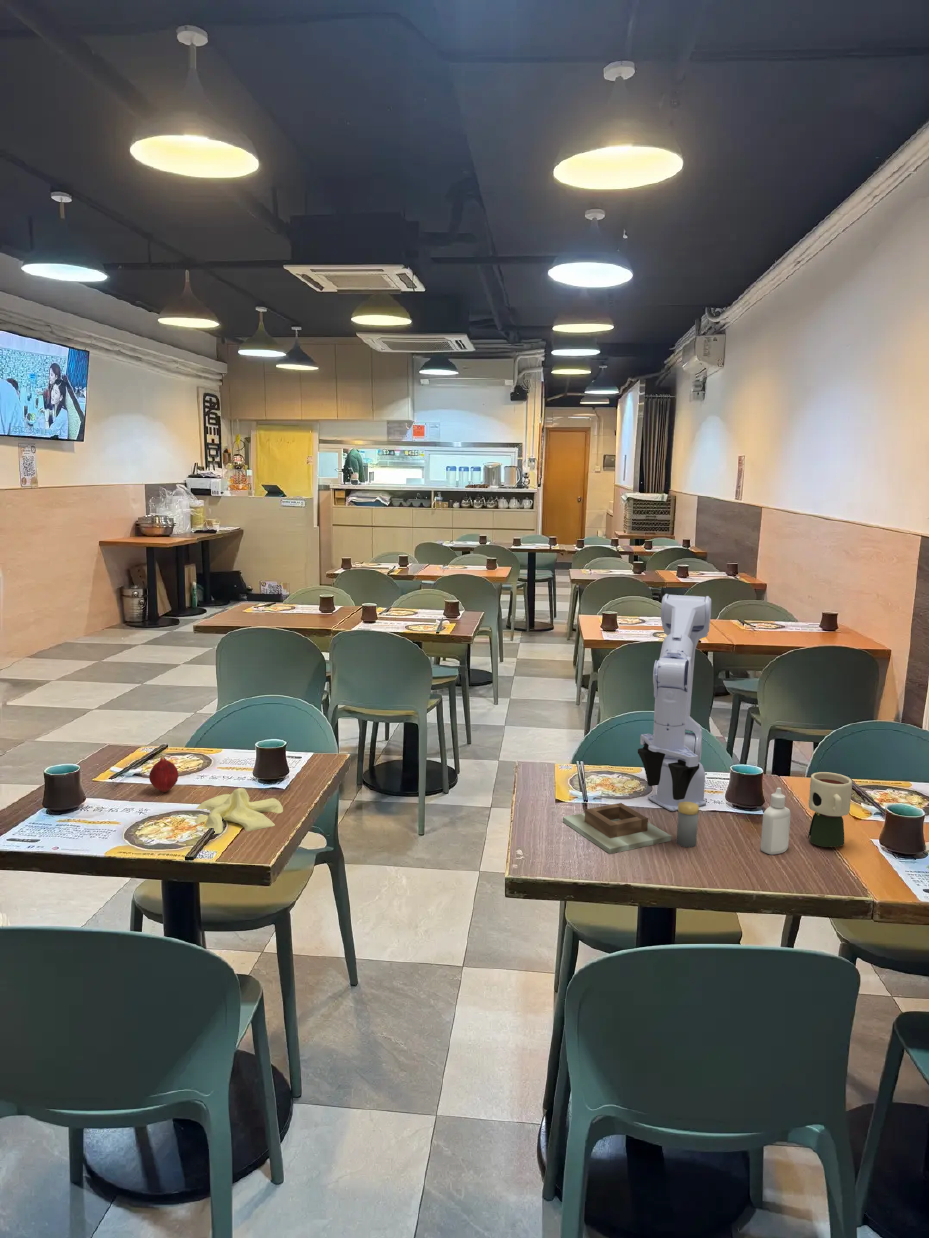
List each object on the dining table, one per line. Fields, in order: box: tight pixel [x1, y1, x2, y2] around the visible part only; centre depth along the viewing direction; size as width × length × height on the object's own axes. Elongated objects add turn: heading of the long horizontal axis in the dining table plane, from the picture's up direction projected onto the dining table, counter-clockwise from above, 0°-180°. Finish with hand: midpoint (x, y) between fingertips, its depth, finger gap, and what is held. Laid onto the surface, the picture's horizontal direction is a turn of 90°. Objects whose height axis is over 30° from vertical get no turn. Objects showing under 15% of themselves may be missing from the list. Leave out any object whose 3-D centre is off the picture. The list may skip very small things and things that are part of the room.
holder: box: [562, 802, 672, 855], centre depth 162 cm, size 14×16×4 cm
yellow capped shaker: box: [676, 802, 700, 848], centre depth 157 cm, size 4×4×8 cm
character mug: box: [807, 771, 853, 848], centre depth 157 cm, size 11×7×13 cm, turn 172°
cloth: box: [194, 787, 284, 835], centre depth 166 cm, size 22×19×6 cm
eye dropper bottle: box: [760, 787, 791, 855], centre depth 154 cm, size 4×6×12 cm
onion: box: [148, 755, 179, 793], centre depth 179 cm, size 6×6×8 cm
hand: (665, 791), depth 157 cm, fingers open, 7 cm apart
